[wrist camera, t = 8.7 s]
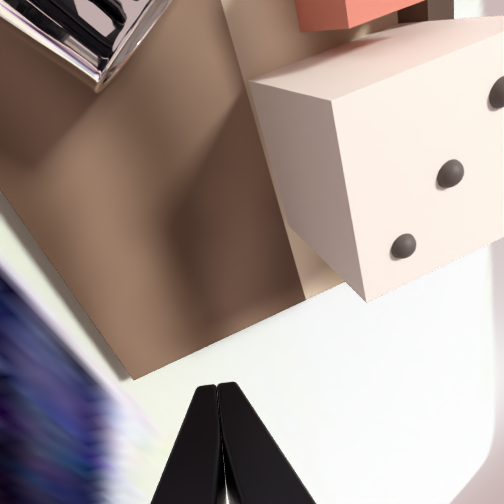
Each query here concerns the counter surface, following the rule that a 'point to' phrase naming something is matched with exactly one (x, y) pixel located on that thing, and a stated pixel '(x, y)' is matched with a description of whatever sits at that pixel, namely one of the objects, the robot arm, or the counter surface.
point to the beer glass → (84, 32)
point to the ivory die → (391, 148)
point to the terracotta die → (343, 12)
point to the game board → (168, 176)
